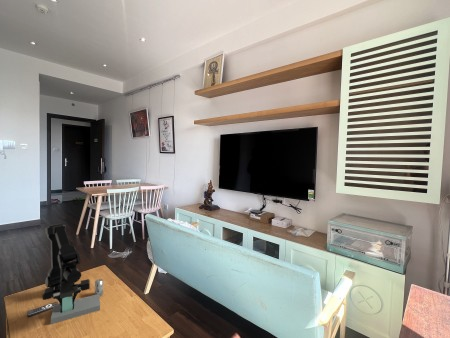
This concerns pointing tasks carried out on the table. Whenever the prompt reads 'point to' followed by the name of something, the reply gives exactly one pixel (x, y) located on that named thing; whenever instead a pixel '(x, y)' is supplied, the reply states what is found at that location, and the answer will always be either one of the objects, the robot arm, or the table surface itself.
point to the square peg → (67, 304)
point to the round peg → (99, 287)
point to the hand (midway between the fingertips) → (67, 305)
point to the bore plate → (76, 308)
